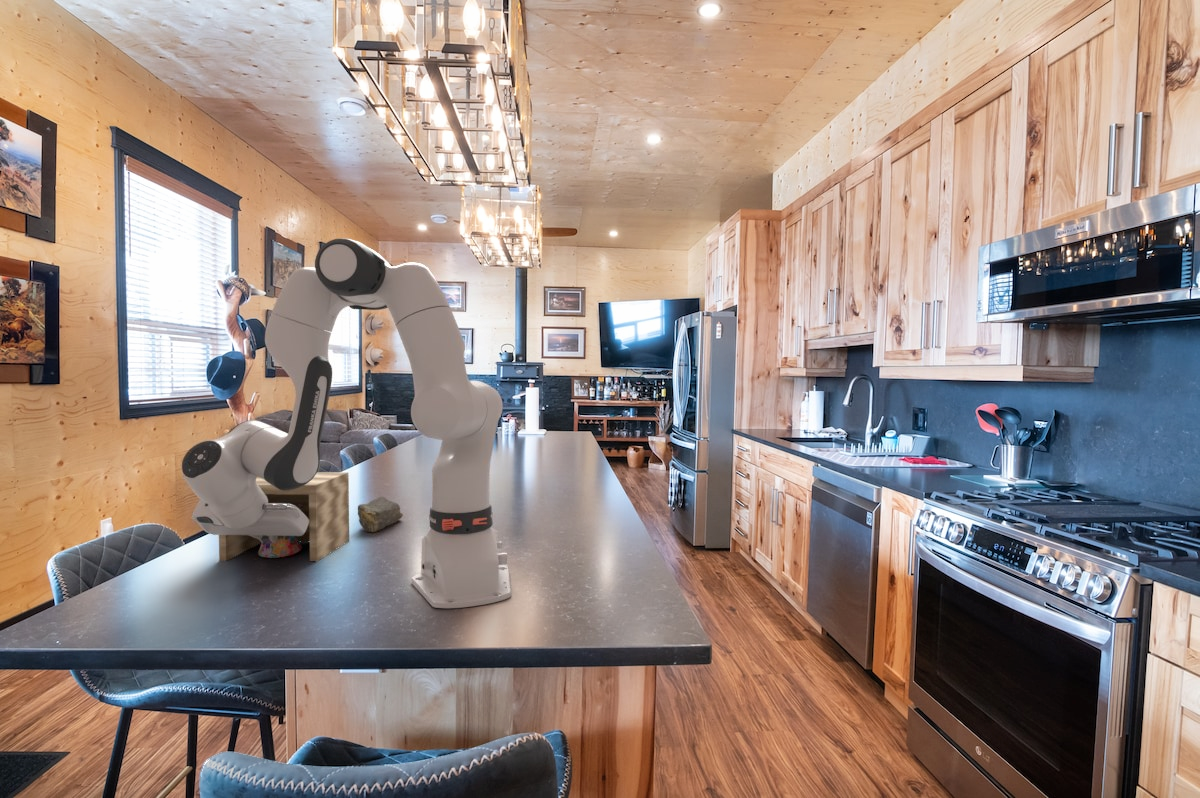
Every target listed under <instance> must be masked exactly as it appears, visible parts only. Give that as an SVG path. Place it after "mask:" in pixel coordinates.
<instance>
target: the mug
mask: <svg viewBox="0 0 1200 798" xmlns="http://www.w3.org/2000/svg"><path fill="white" fill-rule="evenodd" d="M284 503H286V504H292V505H294V506H296V507H297V508H299V509H300V510H302V507H303V505H302V504H301V503H294V502H284ZM301 550H302V545H301V542H299V541H298V537H297V536H278V538H277V541H276V542H275V543H269V542H265V543H264V542H263V543H261V544H260V547H259V549H258V551H257V555H258V556H260V557H262V558H267V559H279V558H280V557H281V558H286V557H290V556H292V555H294V554H297V553H299V552H300V551H301Z"/></svg>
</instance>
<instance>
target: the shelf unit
mask: <svg viewBox="0 0 1200 798" xmlns="http://www.w3.org/2000/svg"><path fill="white" fill-rule="evenodd" d="M349 481H350V480H349V472H346V471H345V472H342V471H341V472H340V471H339V472H338V471H337V472H334V471H332V472H331V471H326V472H325V471H321V472H320V471H317V473H316V475H315V476H314V478H313V479H312V480H311V481H309V482H308V483H307V484H305V485H303V486H301V487H299V488H296V489H293V490H289V491H282V490H280V489H278V488H276V487H275V486H273V485H271V484H270V483H268V482H267V481H266V480H264V479H262V478H259V477H257V478H256V483H257V485H258V486H259V487H260V488H261V490H262V491H263V492H264V494H265V495H266V496H267V499H268V503H284V502H294V503H301V504H302V505H303V507H302V510H301V511H302V512H303V513H304V514H305V515H306V516H307V518H308V519H309V524H308V527H307V529H306V531H305V533H304V534H303V535H302V536H297V537H298V541H301V542H300V543H309V562H310V561H318V560H319V561H321V560H322V559H324V558H326V557H327V556H328V555H327V554H329V553H330V552H332V551H333V550H335V549H336V548H338V547H339V548H341V547H342V546H343V544H344V543H345V544H347V543H349V541H350V499H349V498H350V497H349V496H350V491H349V489H350V488H349V484H350V483H349ZM308 541H310V542H308ZM346 542H347V543H346ZM260 543H262V542H260V540H259V539H256V538H254V537H251V536H249V535H218V557H219V561H220V562H227V561H229V560H231V559H232V557H233V558H235V557H237V556H239V555H241V554H243V553H245V552H247V551H249V550H251V549H253V548H255V547H257V546H259V545H261V544H260ZM258 544H259V545H258ZM345 544H344V545H345ZM256 545H257V546H256ZM341 545H342V546H341ZM254 546H255V547H254ZM340 546H341V547H340ZM252 547H253V548H252ZM250 548H251V549H250ZM339 548H338V549H339ZM248 549H249V550H248ZM246 550H247V551H246ZM336 550H337V549H336ZM336 550H335V551H336ZM244 551H245V552H244ZM242 552H243V553H242ZM333 552H334V551H333ZM333 552H332V553H333ZM240 553H241V554H240ZM238 554H239V555H238ZM330 554H331V553H330ZM330 554H329V555H330ZM236 555H237V556H236ZM326 555H327V556H326ZM234 556H235V557H234ZM323 557H324V558H323ZM321 558H322V559H321ZM320 559H321V560H320ZM226 560H227V561H226ZM319 561H318V562H319Z"/></svg>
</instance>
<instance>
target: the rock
mask: <svg viewBox="0 0 1200 798" xmlns="http://www.w3.org/2000/svg"><path fill="white" fill-rule="evenodd" d="M357 516H358V522H359V524H360V526H361V527H362V529H363V530H364V531H365V532H367V533H375V532H380V531H382V530H384V529H385V528H386V526H387V527H389V526H388V525H390V526H392V525H393V523H394V524H395V523H396V522H398V521H399V520H401V519H402V517H403V516H404V514H403V513H402V512H401V507H400V505H399V503H397V502H395V501H392V500H388V499H387V498H386V497H385V496H379V497H377V498H376V499H373V500H370V501H369V502H368V503H362V504H358V506H357ZM391 524H392V525H391ZM381 529H382V530H381ZM379 530H380V531H379Z"/></svg>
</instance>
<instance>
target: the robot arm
mask: <svg viewBox="0 0 1200 798" xmlns="http://www.w3.org/2000/svg"><path fill="white" fill-rule="evenodd" d="M278 294H279V295H278V297H277V299H276V300H275V303H274V306H273V308H272V311H271V313H270V315H269V319H268V321H267V324H266V328H265V332H264V333H265V334H264V343H265V346H266V349H267V351H268V352H269V354H270V356H271V357H272V359H273V360H274V361H275V362H276V363H277V365H279V366H280V367H281V369H283V371H285V372H286V374H287V375H288V376H289V378H290V380H291V382H292V383H293V386H294V391H295V399H294V404H293V409H292V415H291V420H290V424H289V429H288V433H287V432H285V431H283V430H281V429H279V428H276V426H273V425H270V424H268V423H265V422H262V421H260V420H258V419H250V420H249V419H248V420H245V421H242V422H241V423H240V422H239V423H238V424H237V425H235V426H234V427H232V428H231V429H230V430H229V431H228V432H227V433H226V434H225V435H222V436H220V437H218V438H216V439H207V440H203V441H201V442H198V443H197V444H195V445H193V446H192V447H191V448H190V449H188V450H187V452H186V453H185V455H184V456H183V457H182V461H181V473H182V476H183V478H184V480H185V482H186V484H187V485H188V487H189V488H190V489H191V490H192V492H193V493H194V495H196V496H197V497H198V499H199V501H198V503H197V504H196V506H195V508H194V510H193V511H192V512H193V513H192V514H191V520H193V521H194V522H196V523H197V524H198V526H199V527H200V528H201V529H202V530H203V531H204V532H206V533H207V534H209V535H213V536H219V535H249V536H251V537H254V538H256V539H259V540H260V542H262V543H263V542H264V543H265V542H269V543H275V542H276V541H277V538H278V536H302V535H303V534H304V533H305V531H306V529H307V527H308V524H309V519H308V518H307V516H306V515H305V514H304V513H303V512H302V511H301V510H300V509H299V508H297V507H296V506H294V505H292V504H286V503H268V499H267V496H266V495H265V494H264V492H263V491H262V490H261V488H260V487H259V486H258V485H257V483H256V478H257V477H259V478H262V479H264V480H266V481H267V482H268V483H270V484H271V485H273V486H275V487H276V488H278V489H280V490H282V491H289V490H293V489H296V488H299V487H301V486H303V485H305V484H307V483H308V482H309V481H311V480H312V479H313V478H314V476H315V475H316V473H317V472H319V468H320V463H321V441H322V435H323V429H324V426H325V425H324V424H325V420H326V414H327V411H328V409H327V408H328V406H329V405H328V404H329V398H330V394H331V388H332V383H333V367H332V364H331V363H330V361H329V343H330V338H331V336H332V335H331V334H332V332H333V328H334V326H335V322H336V320H337V318H338V315H339V314H340V313H341V311H343V309H345V308H347V307H349V308H351V310H366V311H367V310H368V311H378V310H385V309H388V311H389V314H391V317H392V319H393V322H394V325H395V327H396V329H397V333H398V334H399V337H400V340H401V342H402V343H401V344H402V345H403V347H404V350H405V352H406V355H407V358H408V360H409V364H410V369H411V374H412V379H413V389H414V397H413V400H412V403H411V407H410V417H411V421H412V423H413V425H414V427H415V428H416V430H417V431H418V432H419V433H420V434H421V435H423V436H425V437H427V438H429V439H434V440H437V441H438V440H439V441H441V444H440V448H439V452H438V455H437V458H436V459H435V462H434V463H433V465H432V469H431V507H430V509H429V515H428V518H429V527H430V529H429V531H428V532H427V533H426V534H425V536H423V537H422V539H421V561H420V563H421V564H420V569H421V570H420V573H418V574H415V575H413V576H412V577H411V584H412V586H413V587H414V588H415V589H416V590H417V591H418V592H419V593H420V595H421V596H423V598H424V599H425V600H426V601H427V602H428V603H429V604H430V605H431V607H432V608H437V609H461V608H468V607H469V608H471V607H476V606H482V605H487V604H493V603H497V602H501V601H504V600H506V599H509V598H510V597H512V591H511V590H512V589H511V580H510V573H509V571H510V570H509V567H508V565H507V564H508V553H507V552H499V551H498V549H499V550H501V549H503V541H501V540H499V541H498V530H496V529H495V528H494V527H493V524H494V523H493V517H494V515H493V509H492V505H491V504H490V493H491V492H490V487H491V486H490V484H491V483H490V479H491V478H490V476H491V475H490V474H491V473H490V470H491V461H492V455H493V449H494V444H495V439H496V432H497V427H498V423H499V421H500V418H501V416H502V414H503V409H504V408H503V400H502V397H501V395H500V393H499V392H498V391H497V389H495V388H494V387H493V386H491V385H489V384H488V383H485V382H483V381H480V380H470V379H469V376H468V373H467V369H466V362H465V356H464V355H465V350H466V343H465V340H464V338H463V335H462V333H461V330H460V328H459V326H458V323H457V320H456V318H455V315H454V313H453V311H452V307H451V306H450V304H449V303H450V302H449V301H448V299H447V297H446V295H445V293H444V291H443V289H442V288H441V286H440V284H439V282H438V280H437V279H436V277H435V276H434V274H433V272H432V271H431V270H430V268H429V267H428V266H426V265H424V264H422V263H420V262H418V263H417V262H406V263H402V264H399V265H396V266H394V265H393V264H392V263H390V262H389V261H387V260H386V259H385V258H384V257H383V256H382V255H381V254H380V253H378V252H376V250H374V249H371V248H370V247H368V246H367V245H365V244H364V243H362V242H360V241H358V240H354V239H350V238H342V237H341V238H334V239H331V240H328V241H327V242H325V243H324V244H323V245H322V246H320V248H319V250H318V251H317V253H316V256H315V259H314V267H312V266H310V267H309V266H303V267H298V268H297V269H295V270H294V271H292V272H291V274H290V275H289V277H288V278H287V280H286V282H285V283H284V285H283V287H282V288H281V290H280V292H279V293H278Z"/></svg>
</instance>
